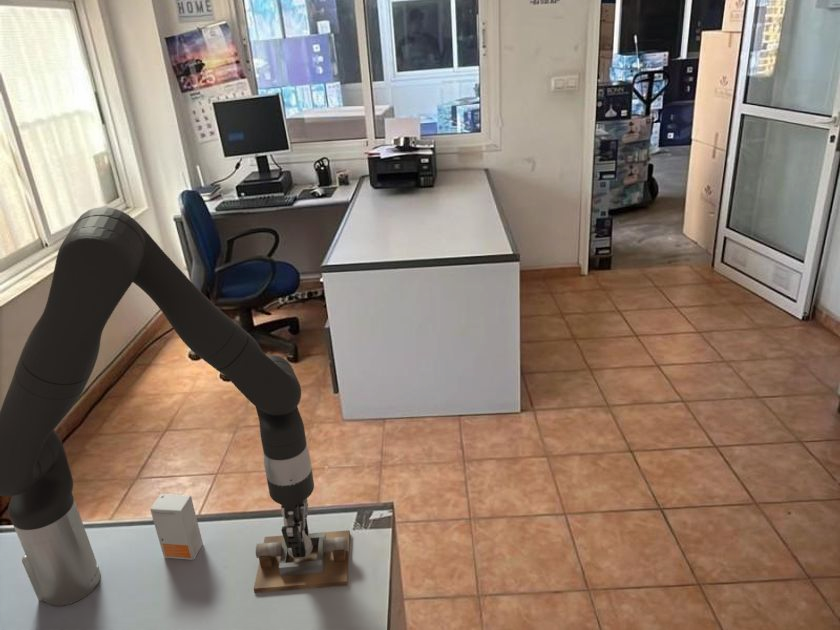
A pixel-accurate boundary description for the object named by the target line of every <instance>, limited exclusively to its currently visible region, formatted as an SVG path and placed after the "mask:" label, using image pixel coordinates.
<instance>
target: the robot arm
mask: <svg viewBox="0 0 840 630" xmlns="http://www.w3.org/2000/svg"><path fill="white" fill-rule="evenodd" d="M132 284H135V286H137V287H138V288H140V289H141V290H142V291H143V292H144V293H146V295H148V297H149V298H150V299H151V300H152V302H154V303H155V305H157V307H158V309H160V312H161V313H163V315H164V317H165V319H166V320H167V321H168V323H169V324H170V325H171V327H172V328H173V330H174V331H175V332H176V334H177V336H178V337H179V339H181V340H182V343H184V345H186V347H188V348H189V350H191V352H193V353H194V354H195V355H196V356H198V357H199V358H201V360H203V361H204V362H205V363H207V364H208V365H209V366H211V367H212V368H213V369H215V370H216V371H218V372H219V373H221V374H222V375H223V376H225V377H226V378H227V379H228V380H229V381H230V382H231V383H232V384H233V386H235V388H236V389H238V391H239V392H240V393H241V394H243V396H244V397H245V398H246V399H247V400H248V401H249V402H250V403H251V404H252V405H254V406H255V409H256V414H257V416H258V417H257V418H258V422H259V431H260V432H259V433H260V434H259V435H260V440H261V441H260V442H261V446H262V451H263V465H264V471H265V476H266V481H267V482H266V483H267V487H268V493H269V496H270V498H271V500H272V501H273V502H275V503H277V504H279V505H281V506H280V512H281V516H282V517H283V518H282V519H283V526H282V527H281V529H280V531H281V533H282V536H283V537H284V540H285V543H286V546H287V548H292V554H293V557H294V558H299V557H305V555H306V550H305V543H304V534H303V530H304V531H305V534H306V535H307V536H308V533H309V532H310V531H309V525H308V519H307V518H308V516H309V514H308V510H309V509H308V507H309V503H308V498H309V497H310V496H312V493H313V491H314V489H315V483H314V476H313V475H314V474H313V468H312V461H311V455H310V450H309V447H308V443H307V437H306V431H305V426H304V420H303V418H302V415H301V412H300V411H299V407H298V405H299V404H300V401H301V399H302V388H301V384H300V381H299V379H298V377H297V375H296V372H295V370H294V368H293V366H292V364H290V362H289V361H288V360H287V359H285V358H283V357H282V356H279V355H275V354H270V355H269V354H268V355H267V354H266V353H265V352H264V351H263V349H262V348H261V346H260V344H259V343H258V342H257V340H256V339H255V338H254V337H253V336H252V335H251V334H250V333H249V332H248V331H246V330H245V329H244V328H242V327H241V325H239V324H238V323H236V322H235V321H234V320H233V319H232V318H231V317H229V316H228V315H226V313H225V312H223V311H222V310H221V309H220V308H218V306H217V305H215V304H214V303H213V302H212V301H211V300H210V299H209V298H208V297H207V296H206V295H205V294H204V293H203V292H201V290H200V289H199V288H198V287H197V286H196V284H194V282H193V281H191V280H190V279H189V278H188V277H187V275H185V274H184V272H183V271H182V270H181V269H180V268H179V266H177V264H176V263H174V261H173V260H172V259H171V258H170V257H169V256H168V255H167V254H166V253H165V252H164V250H163V249H162V248H161V247H160V246H159V244H158V243H157V242H156V241H155V240H154V239H153V237H151V235H150V233H148V232H147V230H145V229H144V228H143V226H142V225H141V224H140V223H138V221H137V220H135V219H134V217H132V216H130V215H129V213H128V214H127V213H126V212H124V211H122V210H119V209H117V208H113V207H108V206H100V207H99V206H98V207H94V208H91V209H88V210H87V211H85V212H84V213H82V214H80V216H79V218H78V219H77V220H76V221H75V222H74V224H73V226H72V227H71V228H70V230H69V232H68V234H67V235H66V236H65V238H64V239H63V241H62V243H61V244H60V246H59V249H58V251H57V256H56V260H55V264H54V269H53V275H52V280H51V284H50V287H49V288H50V289H49V292H48V297H47V301H46V303H45V307H44V310H43V312H42V314H41V315H40V317H39V319H38V320H37V322H36V323H35V325H34V326H33V327H32V330H31V331H30V334H29V335H28V337H27V339H26V342H25V343H24V346H23V348H22V350H21V353H20V356H19V358H18V361H17V364H16V366H15V369H14V373H13V376H12V379H11V381H10V384H9V387H8V389H7V392H6V394H5V397H4V399H3V402H2V406H1V409H0V497H11V499H10V502H9V504H8V508H7V509H8V510H7V512H8V517H9V519H10V521H11V524H12V526H13V527H14V530H15V533H16V535H17V537H18V539H19V542H20V544H21V547H22V549H23V551H24V555H23V557H22V559H21V563H22V565H23V567H24V569H25V572H26V574H27V577H28V578H29V582H30V584H31V586H32V589H33V591H34V593H35V595H36V598H37V601H44V602H46V603H47V604H48V605H51V606H57V607H61V606H66V605H71V604H74V603H76V602H78V601H80V600H83V599H84V598H85V597H86V596H88V595H89V594H90V593H91V592H93V590H94V589H95V588H96V587H97V585H98V584H99V581H100V579H101V572H100V568H99V564H98V563H97V559H96V556H95V553H94V551H93V548H92V544H91V542H90V539H89V536H88V534H87V531H86V529H85V525H84V523H83V520H82V517H81V515H80V512H79V510H78V506H77V504H76V501H75V499H74V498H75V497H74V495H73V489H74V479H73V476H72V471H71V468H70V464H69V461H68V457H67V454H66V450H65V447H64V445H63V442H62V439H60V436H59V435H58V433H57V432H56V431H55V429H56V428H57V427H58V425H59V424H60V423H61V422H62V421H63V419H65V417H66V416H67V414H68V413H69V412H70V411H71V410H72V408H73V407H74V405H75V404H76V403H77V401H78V400H79V398H80V397H81V395H82V393H83V392H84V389H85V388H86V386H87V385H88V382H89V380H90V377H91V375H92V373H93V370H94V369H95V366H96V362H97V361H98V356H99V352H100V347H101V339H102V336H103V335H102V334H103V331H104V328H105V326H106V325H107V323H108V321H109V319H110V318H111V316H112V315H113V313H114V311H115V309H116V308H117V306H118V305H119V303H120V302H121V300H122V299H123V298H124V295H126V293H127V292H128V290H129V288H130V287H131V286H132ZM300 521H301V523H298V522H300ZM294 523H297V524H294Z"/></svg>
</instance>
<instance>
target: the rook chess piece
mask: <svg viewBox="0 0 840 630" xmlns="http://www.w3.org/2000/svg"><path fill="white" fill-rule="evenodd" d="M298 523H301V521H300V522H298ZM294 524H297V523H294ZM303 534H304V543H305V550H306V555H305V557H307V556H308V555H309V554H310V553H311V551H312V549H313V545H312V542H311V539H310V538H309V537H308V536H307V535H306V534H305V531H304V530H303ZM288 554H289V555H290V556H291V557H293V554H292V548H288ZM305 557H299V558H295V559H302V558H305ZM293 558H294V557H293Z"/></svg>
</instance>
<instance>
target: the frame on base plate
mask: <svg viewBox="0 0 840 630" xmlns="http://www.w3.org/2000/svg"><path fill="white" fill-rule="evenodd" d="M308 537H309V538H310V539H311V542H312V545H313V549H312V551H311V553H310V554H309V555H308V556H307V557H305V558H302V559H295V558H293V557H291V556H290V555H289V554H288V548H287V546H286V543H285V540H284V537H283V535H274V536H273V535H270V536H264V539H263V543H256V545H255V557H256V559H258V560H259V562H258V567H257V572H256V577H255V581H254V585H253V592H254V593H255V594H257V593H268V592H269V593H270V592H280V591H294V590H306V589H319V588H320V589H321V588H329V587H342V586H343V587H345V586H348V584H349V583H348V580H349V565H350V564H349V563H350V562H349V561H350V547H351V545H350V543H351V531H350V529H349V530H348V529H347V530H337V531H334V530H333V531H325V532H324V531H323V532H311V533H308Z"/></svg>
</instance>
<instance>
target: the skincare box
mask: <svg viewBox="0 0 840 630" xmlns="http://www.w3.org/2000/svg"><path fill="white" fill-rule="evenodd" d="M149 511H150V514H151V516H152V520H153V524H154V528H155V531H156V535H157V537H158V541H159V545H160V548H161V552H162V555H163V558H165V559H180V560H187V561H188V560H189V561H194V560H195V559H196V557H197V554H199V551H200V549H201V548H202V546H203V539H202V534H201V530H200V527H199V523H198V519H197V515H196V511H195V506H194V503H193V497H192V495H186V494H184V495H183V494H177V493H175V494H174V493H173V494H171V493H170V494H169V493H160V494H159V496H158V497H157V499H156V500H155V502H154V503H153V505H151V507H150V510H149Z"/></svg>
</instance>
